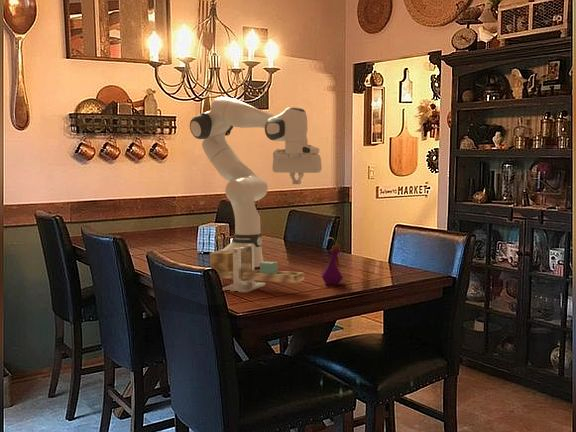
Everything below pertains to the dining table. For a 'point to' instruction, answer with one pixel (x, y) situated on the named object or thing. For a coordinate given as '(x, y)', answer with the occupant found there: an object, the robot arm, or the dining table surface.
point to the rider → (268, 267)
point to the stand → (237, 275)
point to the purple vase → (332, 268)
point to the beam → (248, 268)
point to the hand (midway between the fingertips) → (296, 184)
